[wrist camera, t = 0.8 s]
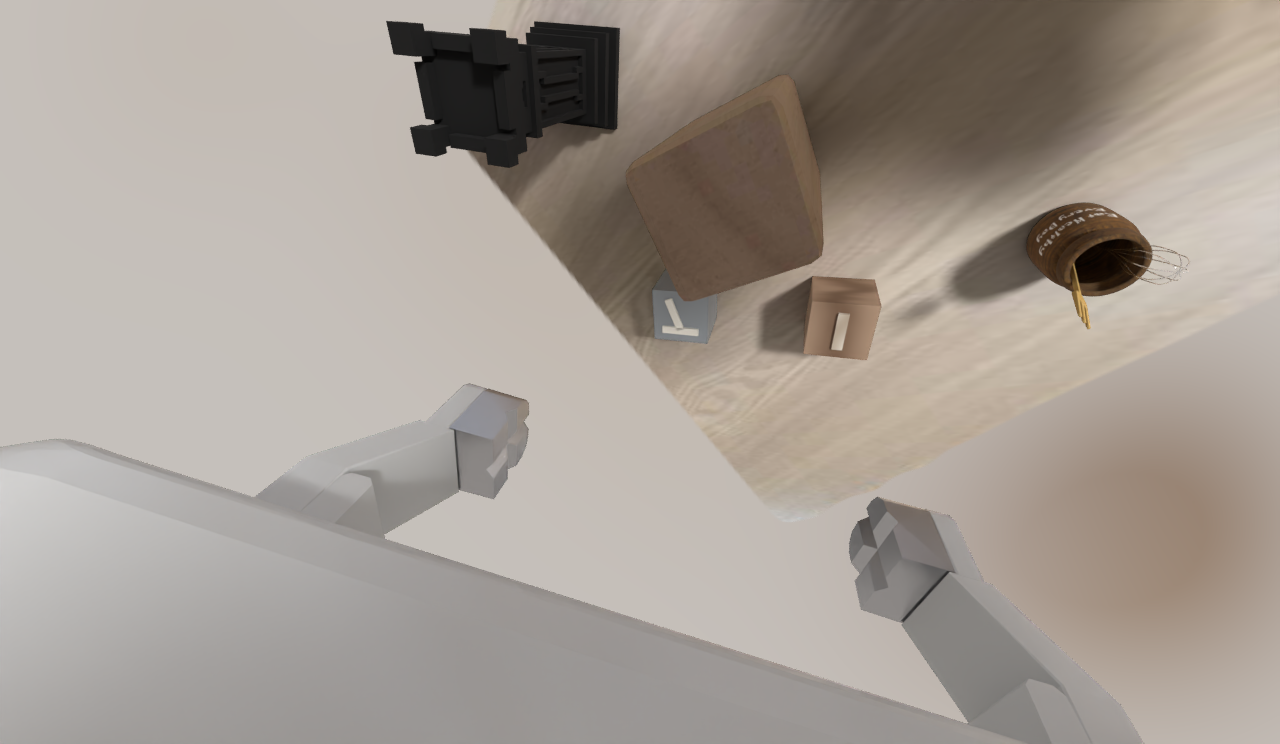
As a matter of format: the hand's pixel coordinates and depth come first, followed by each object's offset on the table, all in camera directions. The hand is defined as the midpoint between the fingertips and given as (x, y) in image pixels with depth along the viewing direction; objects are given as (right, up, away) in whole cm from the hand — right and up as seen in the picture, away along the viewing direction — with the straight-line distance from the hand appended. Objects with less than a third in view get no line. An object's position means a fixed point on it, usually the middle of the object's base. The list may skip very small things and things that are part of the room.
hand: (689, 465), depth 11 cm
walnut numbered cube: (+20, +10, +38) cm, 44 cm away
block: (+10, +23, +32) cm, 41 cm away
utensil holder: (+36, +14, +29) cm, 48 cm away
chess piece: (-7, +31, +33) cm, 46 cm away
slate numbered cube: (+5, +11, +43) cm, 44 cm away
